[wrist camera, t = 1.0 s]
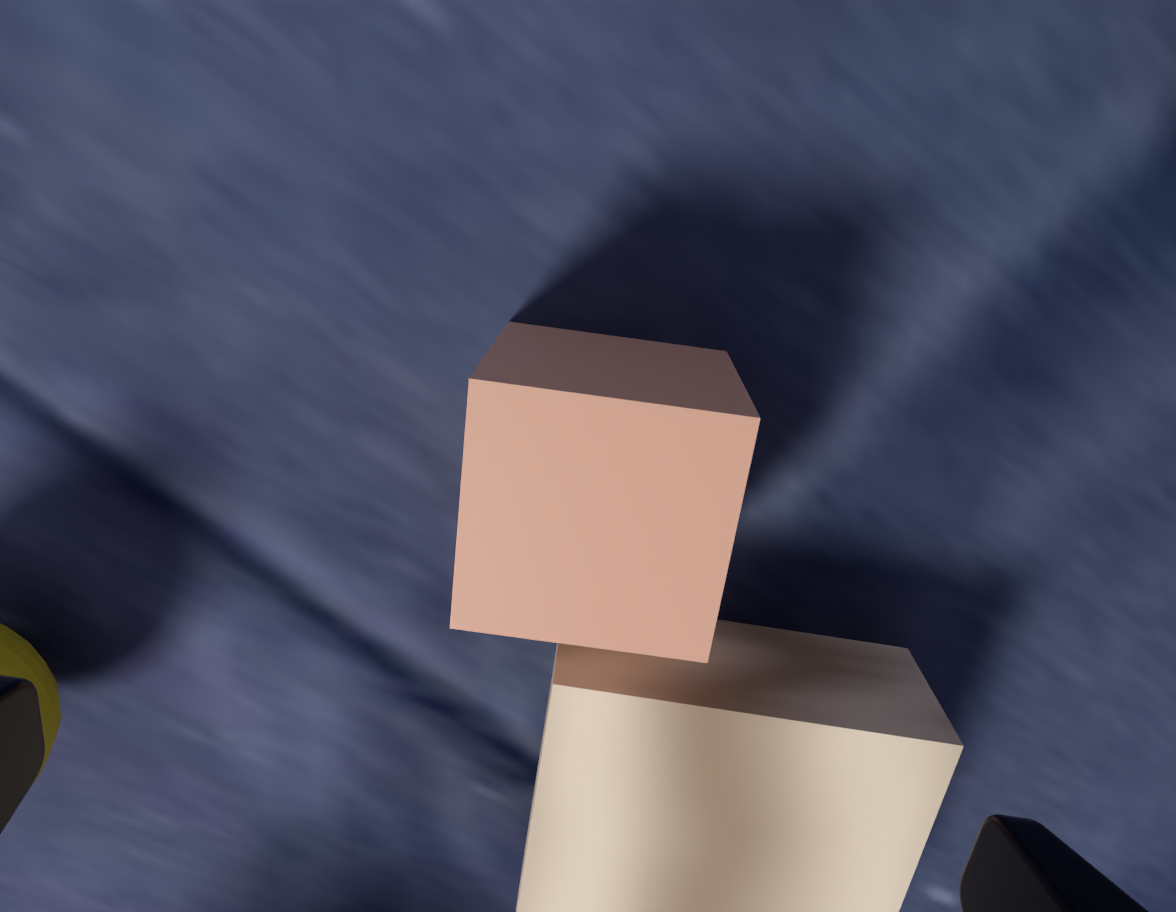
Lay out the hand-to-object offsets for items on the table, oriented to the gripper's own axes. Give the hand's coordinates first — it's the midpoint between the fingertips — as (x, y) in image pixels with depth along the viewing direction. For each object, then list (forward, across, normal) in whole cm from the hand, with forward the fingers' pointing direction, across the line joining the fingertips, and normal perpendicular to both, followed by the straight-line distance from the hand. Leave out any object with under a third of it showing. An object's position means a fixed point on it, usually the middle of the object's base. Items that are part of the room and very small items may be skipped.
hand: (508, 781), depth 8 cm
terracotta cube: (+12, -1, +1) cm, 12 cm away
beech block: (+12, -5, +10) cm, 16 cm away
